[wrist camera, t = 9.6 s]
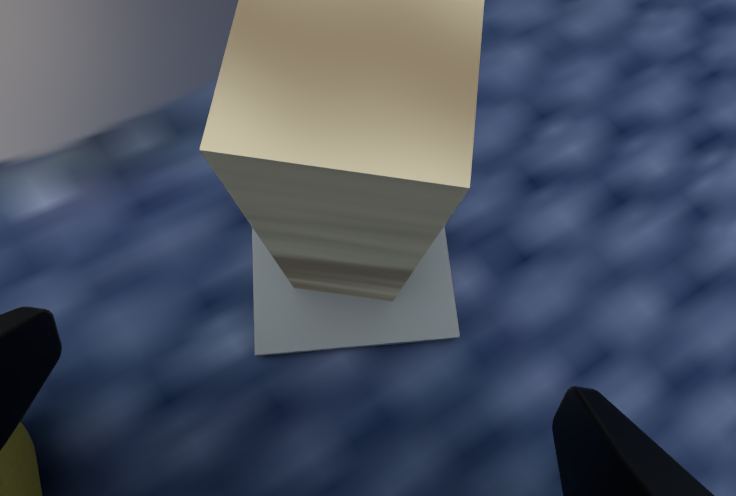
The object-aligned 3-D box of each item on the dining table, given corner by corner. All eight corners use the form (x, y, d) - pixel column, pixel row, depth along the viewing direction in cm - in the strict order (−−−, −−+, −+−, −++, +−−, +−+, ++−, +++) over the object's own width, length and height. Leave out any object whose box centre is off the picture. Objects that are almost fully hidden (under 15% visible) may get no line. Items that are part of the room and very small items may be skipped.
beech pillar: (392, 301, 20) (469, 188, 7) (293, 287, 20) (199, 150, 7) (403, 208, 21) (485, -27, 8) (310, 195, 21) (254, -61, 8)
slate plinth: (452, 339, 21) (459, 336, 20) (261, 355, 20) (254, 355, 19) (428, 166, 23) (434, 153, 22) (256, 177, 23) (250, 164, 21)
